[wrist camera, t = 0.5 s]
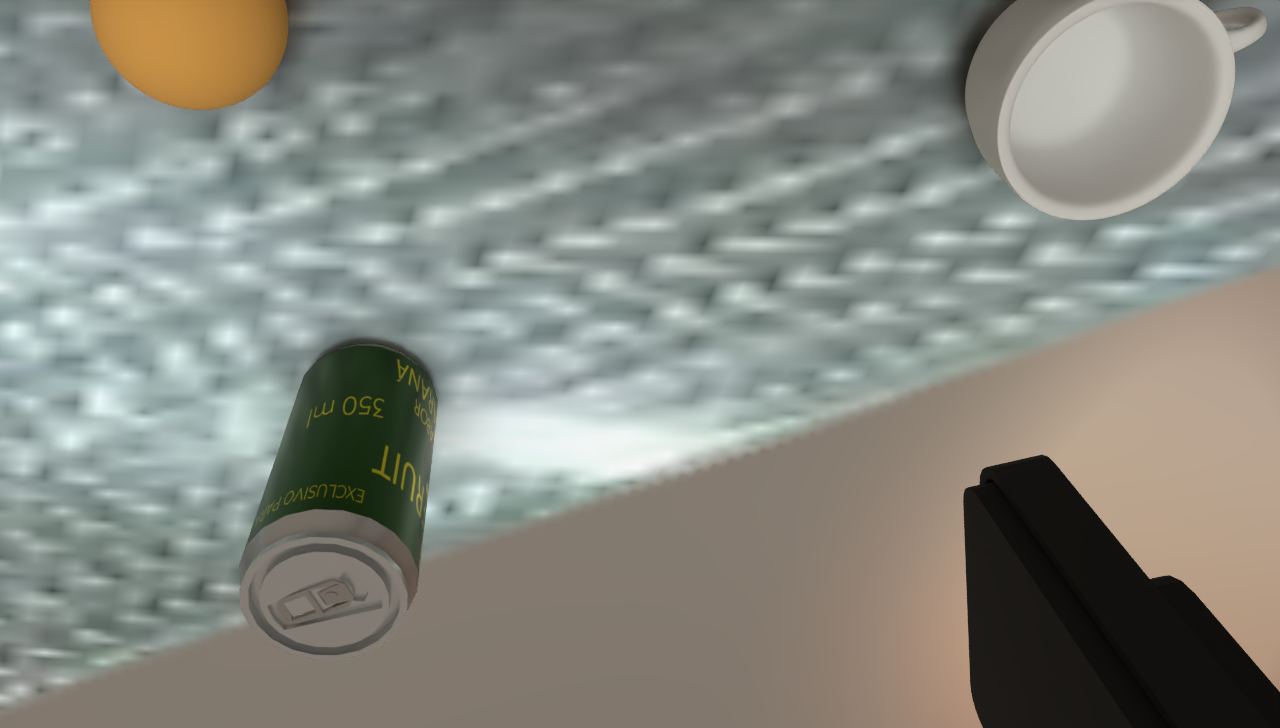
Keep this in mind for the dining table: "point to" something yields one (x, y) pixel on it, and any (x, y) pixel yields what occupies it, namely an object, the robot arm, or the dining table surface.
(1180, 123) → the teacup
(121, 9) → the ball
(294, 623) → the green soda can
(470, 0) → the dining table surface
